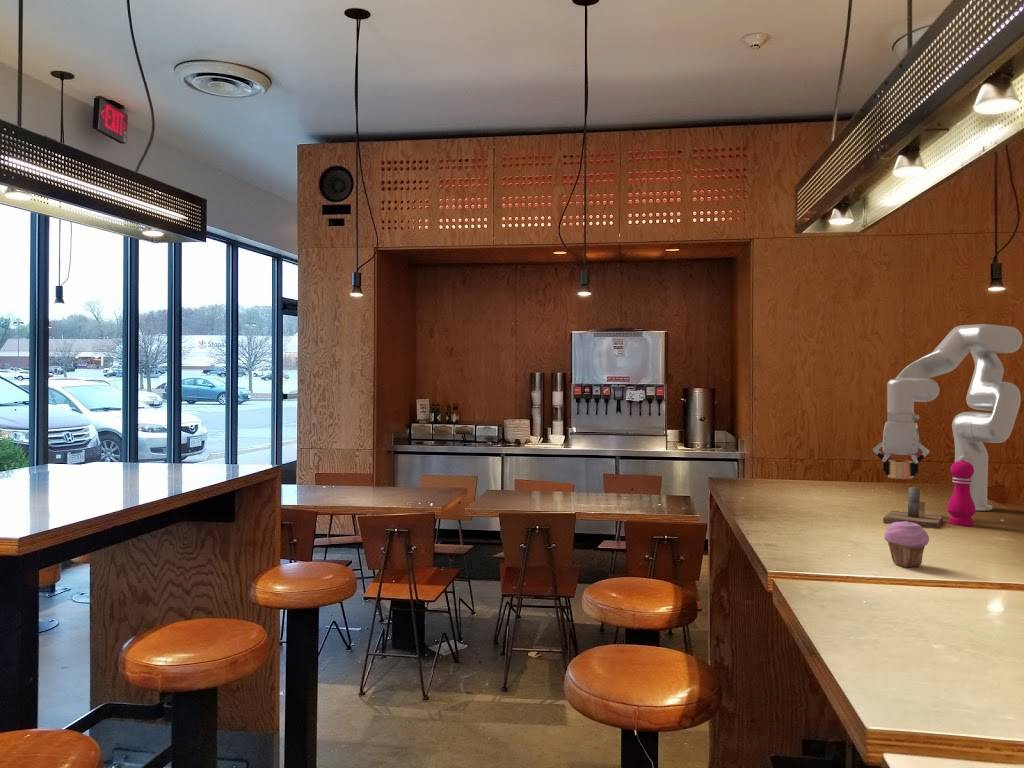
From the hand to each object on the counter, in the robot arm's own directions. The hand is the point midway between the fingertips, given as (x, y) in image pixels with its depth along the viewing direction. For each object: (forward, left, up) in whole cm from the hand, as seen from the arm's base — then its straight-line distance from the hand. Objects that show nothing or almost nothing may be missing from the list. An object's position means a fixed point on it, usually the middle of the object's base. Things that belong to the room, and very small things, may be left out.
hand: (900, 474), depth 255 cm
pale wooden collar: (0, 0, -1) cm, 1 cm away
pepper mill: (+10, +18, -12) cm, 24 cm away
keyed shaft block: (+15, +6, -12) cm, 20 cm away
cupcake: (+79, +12, -12) cm, 80 cm away
